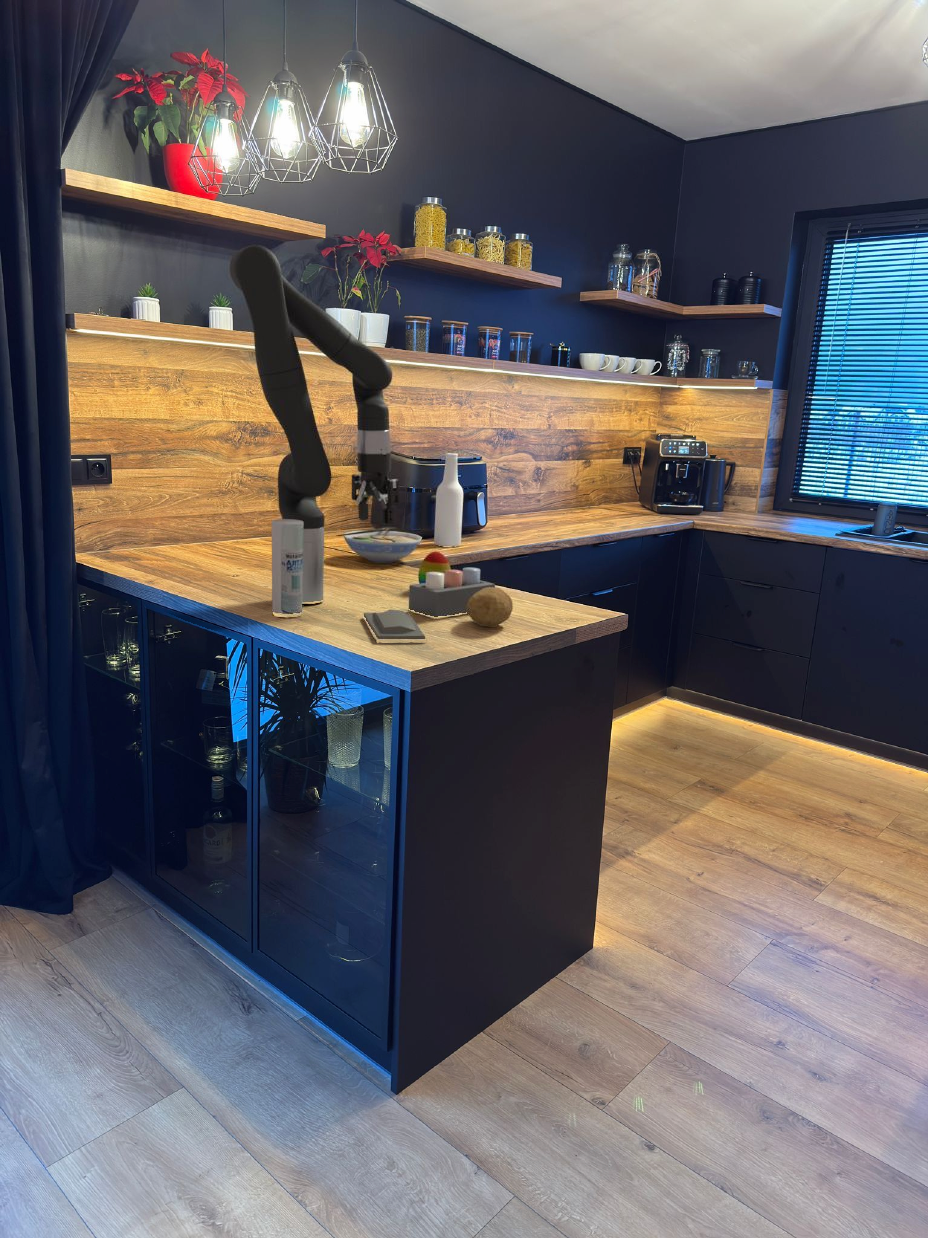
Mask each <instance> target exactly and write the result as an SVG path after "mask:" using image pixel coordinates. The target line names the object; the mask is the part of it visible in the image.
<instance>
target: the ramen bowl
mask: <svg viewBox="0 0 928 1238" xmlns="http://www.w3.org/2000/svg"><path fill="white" fill-rule="evenodd" d="M397 530H398V527H396V526H395V527H393V526H387V527H380V528H375V529H367V530H354V531H349V532H345V533H343V534H336V535H335V537H342V536H343V538H344V542H346V544H347V545H348V547H349V548H350V549H351V551H352V552H354V553H355V554H356V555H358V556H359V557H361V558H363V559H366V560H368V561H369V562H372V563H376V564H392V563H394V562H396V561H398V560H402V559H404V558H407V557H408V556H410V555H411V554H412V553H413V552H414V551H415V550H416V548H417V547H418V546H419V544H420V542H421V540H423V539H422V538H423V537H422V536H420V535H418V534H415V533H410V532H403V531H397Z"/></svg>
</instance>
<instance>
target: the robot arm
mask: <svg viewBox="0 0 928 1238" xmlns="http://www.w3.org/2000/svg"><path fill="white" fill-rule="evenodd" d="M229 273H230V277H231V279H232V282H233V283H234V285H235V286H236V287H237V288H238V289H239V290H240V291H241V292H242V293H243V297H244V300H245V302H246V306H247V308H248V313H249V316H250V319H251V323H252V328H253V338H254V353H255V355H254V356H255V360H256V361H255V363H256V368H257V372H258V373H257V374H258V378H259V381H260V384H261V388H262V392H263V395H264V398H265V400H266V401H265V402H266V403H267V404H268V407H269V409H270V410H271V411H272V413H273V415H274V417H275V419H276V420H277V422H278V423H279V425H280V427H281V429H282V430H283V432H284V434H285V437H286V439H287V442H288V443H287V444H288V446H289V450H290V453H288V454H286V455H285V456H284V457H283V458H282V459H281V461H280V463H279V467H278V471H277V472H278V473H277V494H278V495H277V497H278V498H277V499H278V510H279V513H280V516H281V519H294V520H301V521H303V523H304V526H303V584H302V602H314V601H321V600H323V601H324V581H325V580H324V579H325V578H324V572H325V571H324V569H325V568H324V566H325V562H324V561H325V514H324V513H323V512H322V510H321V509H320V508H319V506H318V503H317V497H321V496H323V495H324V494H325V493H327V491H328V490H329V488H330V486H331V482H332V469H331V466H330V465H331V464H330V462H329V460H328V457H327V453H326V451H325V448H324V447H325V446H324V444H323V441H322V439H321V436H320V432H319V430H318V426H317V423H316V417H315V414H314V410H313V406H312V402H311V398H310V394H309V389H308V385H307V379H306V375H305V374H306V373H305V371H304V367H303V362H302V359H301V355H300V353H299V348H298V345H297V341H296V338H295V335H294V332H293V328H292V326H293V327H294V328H295V330H297V331H298V332H299V333H300V334H301V335H302V336H303V337H304V338H305V339H306V340H308V341H309V342H310V343H311V344H312V345H313V346H314V347H316V348H317V349H318V351H320V352H321V353H322V354H324V356H326V357H327V358H328V359H329V360H330V361H332V362H333V363H335V364H336V365H338V366H340V367H343V368H345V369H346V370H347V371H348V372H349V373H351V375H352V377H351V378H352V380H351V381H352V382H351V383H352V389H353V394H354V399H355V403H356V409H357V411H356V413H357V414H356V415H357V436H356V458H357V459H356V461H357V464H356V465H357V472H359V473H353V474H352V475H351V500H352V501H355V502H356V504H357V505H358V506H357V507H358V508H357V511H358V519H359V521H367V520H368V519H369V503H368V501H369V500H370V498H371V497H372V496H373V497H375V498H376V500H377V501H379V502H380V504H381V507H382V525H383V526H391V525H393V521H394V508H395V507H399V506H400V505H401V503H400V502H401V501H400V485H399V479H398V478H393V479H392V478H391V479H390V478H389V473H390V472H391V470H392V451H391V450H392V444H391V434H390V412H389V406H388V405H387V404H386V402H385V399H384V391H383V390H385V389H387V388H388V387H389V386H390V384H391V383H392V380H393V370H392V368H391V366H390V365H389V363H388V361H387V360H386V359H385V358H383V357H382V356H381V355H380V354H379V353H378V352H375V351H374V350H373V349H371V347H369V346H367V345H366V344H364V343H362V342H361V341H360V340H359V339H358V338H356V337H355V336H354V335H353V333H351V332H350V331H349V330H348V329H347V328H346V327H345V326H344V325H343V324H341V323H340V322H339V321H338V320H337V319H335V318H334V317H333V316H332V315H331V314H330V313H328V312H327V311H325V310H324V309H323V308H321V307H320V306H318V305H317V304H315V303H314V302H312V300H310V299H308V298H307V296H305V295H304V294H302V293H301V292H300V291H298V290H297V289H296V288H295V287H294V286H293V284H291V283H290V282H289V281H288V280H287V279H286V278H285V276H283V274H282V268H281V265H280V261H279V260H278V257H277V256H276V254H274V252H272V251H271V249H268V248H267V247H265V246H263V245H258V244H253V245H249V246H245V247H242V248H240V249H239V250H237V251H236V252H235V253H234V254H233V255H232V256H231V259H230V263H229ZM357 492H358V493H357ZM393 497H394V498H393Z"/></svg>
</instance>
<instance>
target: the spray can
mask: <svg viewBox="0 0 928 1238" xmlns="http://www.w3.org/2000/svg"><path fill="white" fill-rule="evenodd" d="M303 526H304V523H303V521H301V520H294V519H282V518H278V519H273V520H271V612H272V611H273V612H275V613H282V614H293V613H300V612H302V613H303V605H302V584H303Z"/></svg>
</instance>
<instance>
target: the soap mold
mask: <svg viewBox="0 0 928 1238" xmlns="http://www.w3.org/2000/svg"><path fill="white" fill-rule="evenodd" d="M363 615H364V617H365V618H366V621H367V622H368V624H369V626H370V627H371V629H372V630H373V632H374V633H375V635H376V637H377V638H378V639H426V635H425V633H424V632H423V631H422V630H421V628H420V627H419V625H418V624H417V622H416V621H415V620H414V618H413V617H412V616H411V614H410V612H409V611H404V610H399V609H388V610H386V611H383V612H363Z"/></svg>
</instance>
